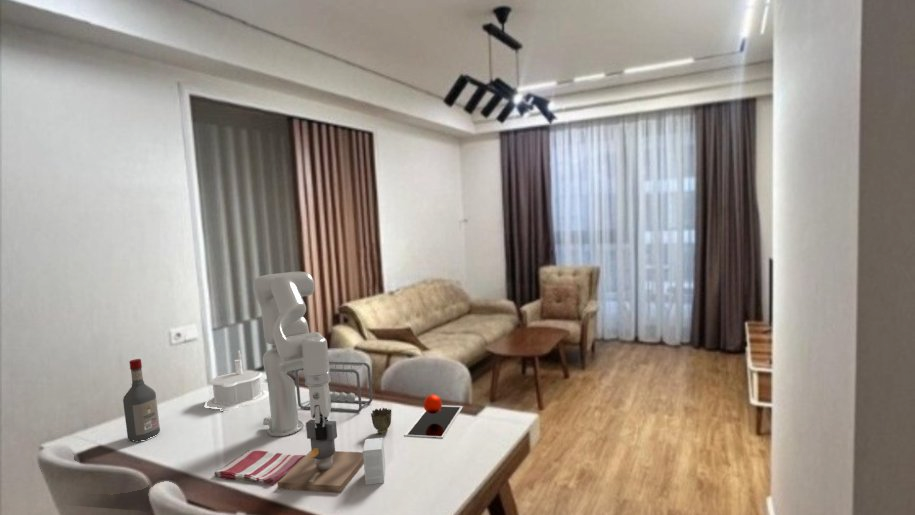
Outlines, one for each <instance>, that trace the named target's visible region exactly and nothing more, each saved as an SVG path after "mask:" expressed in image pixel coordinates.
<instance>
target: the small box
mask: <svg viewBox="0 0 915 515" xmlns="http://www.w3.org/2000/svg"><path fill="white" fill-rule="evenodd" d="M384 445H385V443H384V437H375V438H367V439H365V440H364V444H363V449H362V452H363V460H364V464H363V468H364V480H365V482H364V483H365V486H367V485H377V484H383V483H385V476H386V457H385V446H384Z"/></svg>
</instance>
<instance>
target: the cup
mask: <svg viewBox="0 0 915 515" xmlns="http://www.w3.org/2000/svg"><path fill="white" fill-rule="evenodd" d="M370 416H371V420H372V424H373V427H374V429H375V430H377V431H376V432H377V433H378V435H385V434H387V433H388V430H389V428H390V426H391V425H392V424H391V423H392V408H391V409H390V408H387V407H386V408H385V407H382V408H381V407H380V408H379V409H378V408H375V409H373V410H371V413H370Z"/></svg>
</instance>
